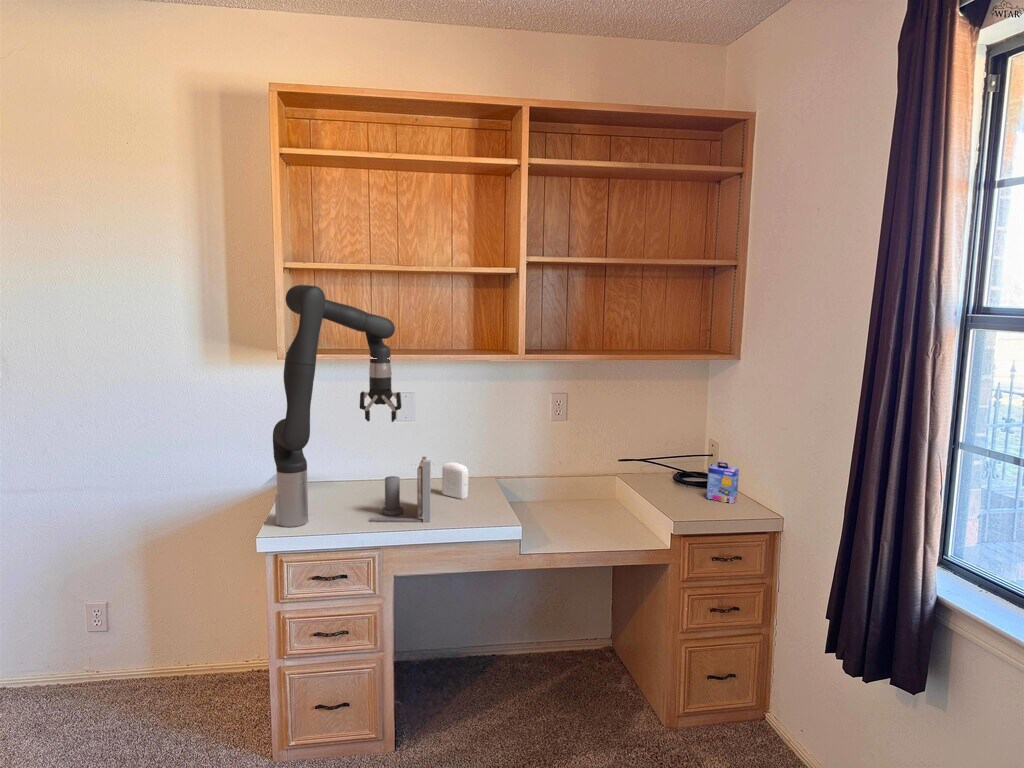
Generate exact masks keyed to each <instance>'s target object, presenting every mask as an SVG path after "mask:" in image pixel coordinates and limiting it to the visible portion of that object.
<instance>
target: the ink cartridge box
mask: <svg viewBox="0 0 1024 768" xmlns="http://www.w3.org/2000/svg"><path fill="white" fill-rule="evenodd" d="M739 472H740V470H739V468H738V467H737V468H736V467H730V466H729V464H728V463H727V462H723V461H717V464H712V465H710V466H709V467H708V468H707V484H706V487H707V488H706V499H707V498H708V499H714V500H719V501H724V502H729V503H733V504H735V503H736V502H737V501H738V491H739V490H738V489H739V475H740V474H739ZM708 499H707V500H708ZM714 500H713V501H714ZM719 501H718V502H719ZM724 502H723V503H724ZM734 502H735V503H734ZM729 503H728V504H729Z"/></svg>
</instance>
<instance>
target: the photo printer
mask: <svg viewBox="0 0 1024 768" xmlns="http://www.w3.org/2000/svg"><path fill="white" fill-rule="evenodd" d="M441 473H442V475H441V476H442V477H441V480H442V481H441V494H442V495H444V496H448V497H453V498H456V499H460V500H464V499H463V498H465V499H467V498H468V497H469V469H468V467H467V466H465V465H464V464H461V463H460V462H456V461H455V462H453V461H452V462H446V463H444V464H443V465H442V470H441Z"/></svg>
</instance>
